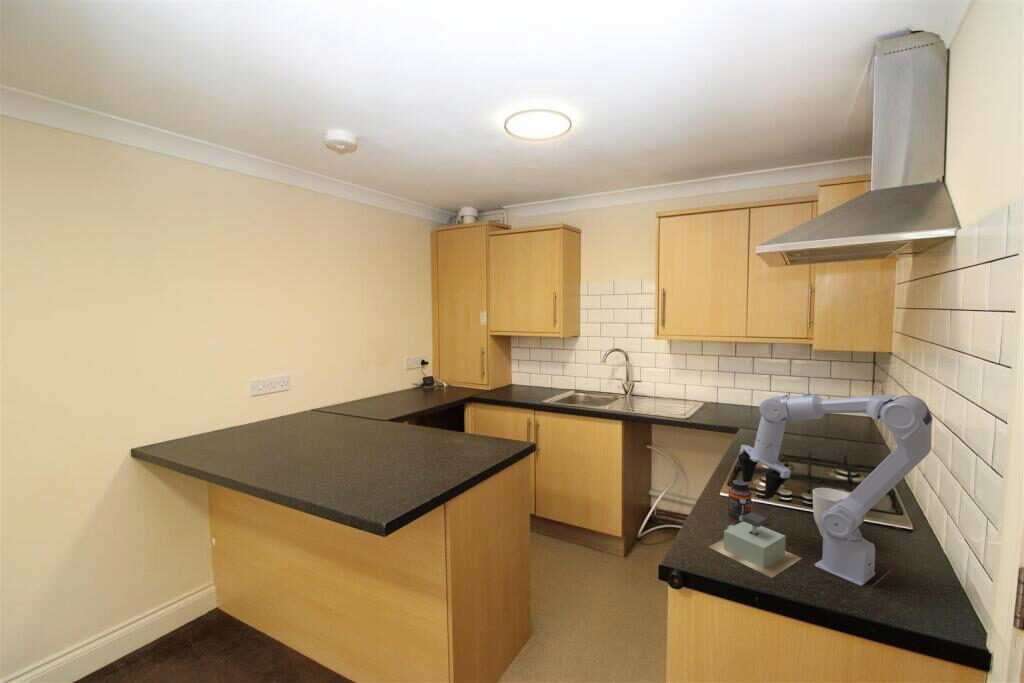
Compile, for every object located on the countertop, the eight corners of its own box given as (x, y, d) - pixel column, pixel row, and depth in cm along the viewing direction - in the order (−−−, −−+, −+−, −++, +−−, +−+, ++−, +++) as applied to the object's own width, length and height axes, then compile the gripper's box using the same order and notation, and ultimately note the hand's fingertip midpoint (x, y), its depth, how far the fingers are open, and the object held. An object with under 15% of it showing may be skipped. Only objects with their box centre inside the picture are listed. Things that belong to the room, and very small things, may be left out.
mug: (849, 550, 114) (849, 503, 113) (808, 538, 120) (808, 494, 119) (859, 533, 121) (859, 490, 121) (820, 523, 128) (820, 482, 127)
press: (785, 555, 111) (785, 535, 111) (763, 568, 106) (763, 548, 106) (739, 535, 121) (740, 517, 121) (717, 546, 116) (718, 528, 115)
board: (802, 559, 110) (802, 558, 110) (771, 579, 102) (771, 577, 102) (738, 532, 123) (738, 531, 123) (708, 548, 116) (708, 546, 116)
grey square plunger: (766, 540, 112) (767, 518, 111) (757, 545, 110) (758, 522, 109) (750, 533, 115) (751, 512, 115) (741, 538, 113) (742, 516, 113)
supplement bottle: (748, 527, 126) (749, 488, 125) (725, 521, 130) (726, 483, 129) (752, 518, 131) (753, 481, 130) (730, 513, 135) (731, 476, 134)
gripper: (735, 430, 122) (725, 475, 125) (778, 455, 108) (766, 505, 111) (756, 429, 124) (746, 474, 127) (801, 454, 110) (789, 503, 113)
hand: (757, 488), depth 119 cm, fingers open, 7 cm apart
